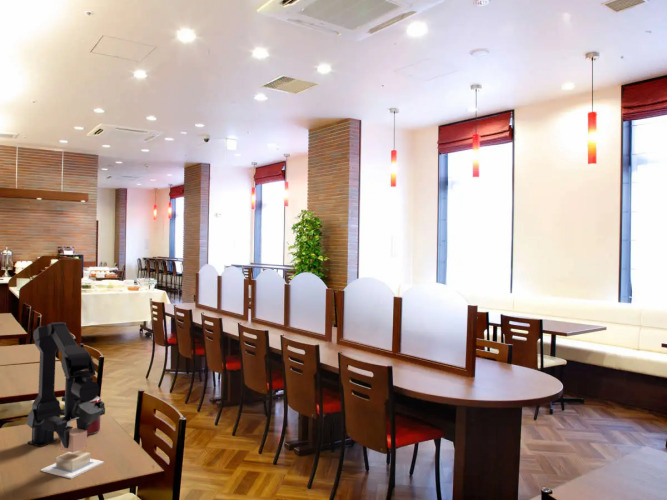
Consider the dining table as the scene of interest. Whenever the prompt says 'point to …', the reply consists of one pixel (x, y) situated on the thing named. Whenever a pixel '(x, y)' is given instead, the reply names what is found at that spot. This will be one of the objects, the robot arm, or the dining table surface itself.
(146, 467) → the dining table surface
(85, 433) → the terracotta cube
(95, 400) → the soda can
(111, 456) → the dining table surface
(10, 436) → the dining table surface
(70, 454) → the maple block
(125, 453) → the dining table surface
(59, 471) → the board
